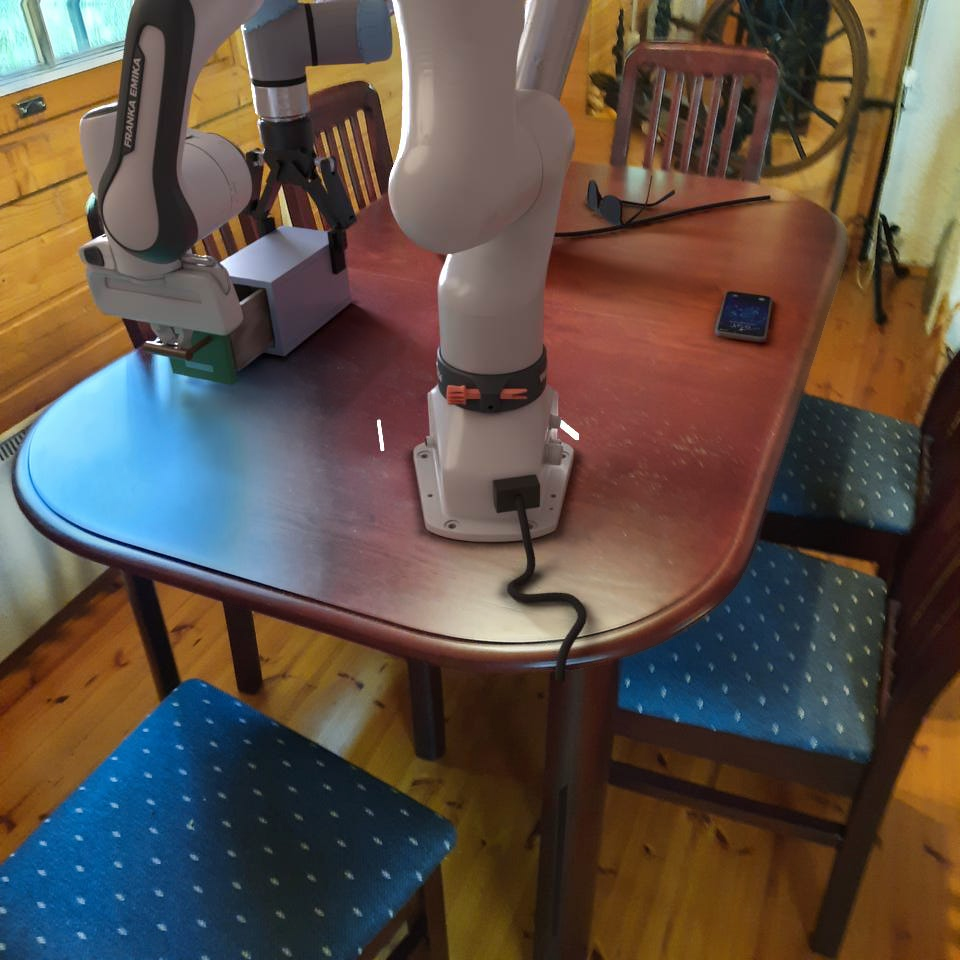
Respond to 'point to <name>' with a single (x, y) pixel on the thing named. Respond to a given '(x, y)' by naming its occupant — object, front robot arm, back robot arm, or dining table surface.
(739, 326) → the smartphone
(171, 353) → the drawer
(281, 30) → the back robot arm
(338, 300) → the cabinet
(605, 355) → the dining table surface
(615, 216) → the sunglasses
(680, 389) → the dining table surface
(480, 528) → the front robot arm
